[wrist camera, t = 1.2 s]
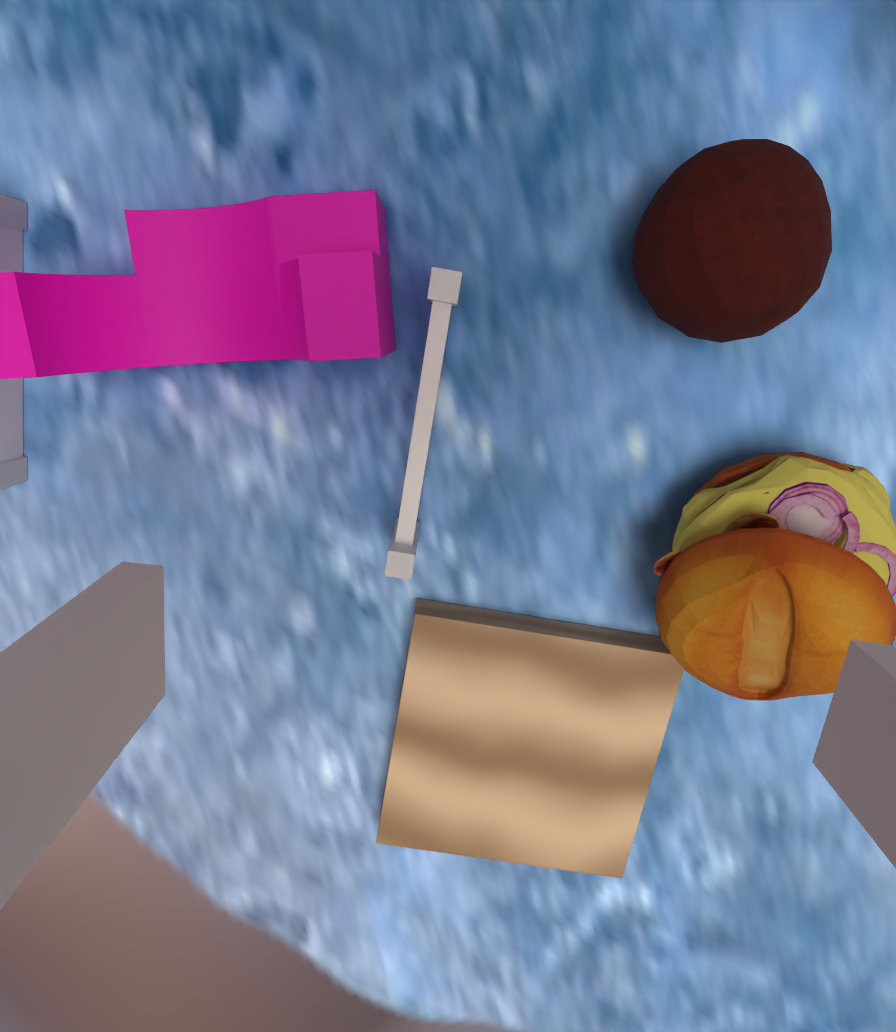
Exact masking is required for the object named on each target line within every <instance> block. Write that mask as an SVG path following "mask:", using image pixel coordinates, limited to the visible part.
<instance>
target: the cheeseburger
mask: <svg viewBox="0 0 896 1032" xmlns="http://www.w3.org/2000/svg"><path fill="white" fill-rule="evenodd" d="M654 573H655V574H656V575H658V576H662V578H661V580H660V582H659V586H658V591H657V596H656V601H655V614H656V621H657V625H658V629H659V632H660V636H661V640H662V641H663V643H664V644H665V646H666V647H667V649H668V650H669V652H670V653H671V655H672V656H673V657H674V658H675V659H676V660H677V662H678V663H679V664H680V665H681V666H682V667H683V669H684V670H685V671H687V672H688V673H690V674H691V675H692V676H694V677H695V678H697V679H698V680H700V681H702V682H703V683H705V684H707V685H709V686H710V687H712V688H714V689H717V690H719V691H721V692H724V693H726V694H728V695H731V696H734V697H737V698H741V699H745V700H777V699H782V698H788V697H795V696H806V695H817V694H828V693H833V692H835V689H836V685H837V682H838V679H839V676H840V673H841V670H842V666H843V663H844V660H845V657H846V654H847V651H848V647H849V644H850V641H851V640H855V641H864V642H873V643H883V644H890V645H892V644H893V641H894V639H895V636H896V605H895V602H894V600H893V598H892V597H893V596H894V594H895V593H896V528H895V525H894V521H893V518H892V515H891V511H890V499H889V497H888V495H887V492H886V490H885V488H884V486H883V485H882V484H881V483H880V482H879V480H878V479H877V478H876V477H875V476H874V475H873V474H872V473H871V472H869V471H868V470H867V469H865V468H864V467H858V466H852V465H849V464H840V463H838V462H835V461H832V460H828V459H825V458H821V457H817V456H814V455H810V454H807V453H803V452H795V453H781V454H766V455H759V456H756V457H754V458H751V459H748V460H745V461H743V462H740V463H737V464H734V465H732V466H729V467H726V468H723V469H722V470H720V471H719V472H718V473H717V474H716V475H715V476H714V477H712V478H711V479H710V480H709V481H708V482H707V483H706V484H704V485H703V486H702V487H701V488H700V489H699V490H698V491H696V492H695V493H694V494H693V496H692V498H691V500H690V501H689V502H688V503H687V504H686V505H685V506H684V507H683V510H682V515H681V518H680V521H679V524H678V526H677V529H676V532H675V535H674V540H673V545H672V552H670V553H668V554H667V555H665V556H663V557H662V558H660V559H659V560H658V561H657V562H656V563H655V566H654Z"/></svg>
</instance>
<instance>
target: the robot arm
mask: <svg viewBox="0 0 896 1032" xmlns="http://www.w3.org/2000/svg"><path fill="white" fill-rule="evenodd" d="M164 695H165V653H164V584H163V566H158V565H149V564H139V563H130V562H121V563H120V564H119V565H117V566H116V567H115V568H113V569H112V570H111V571H109V572H108V573H107V574H105V575H104V576H103V577H101V578H100V579H99V580H97V581H96V582H95V583H93V584H92V585H91V586H89V587H88V588H86V589H85V590H84V591H82V592H81V593H80V594H78V595H77V596H76V597H74V598H73V599H72V600H70V601H69V602H68V603H66V604H65V605H64V606H62V607H61V608H60V609H58V610H57V611H56V612H54V613H53V614H52V615H50V616H49V617H48V618H46V619H45V620H44V621H42V622H41V623H40V624H38V625H37V626H36V627H34V628H33V629H32V630H30V631H29V632H28V633H26V634H25V635H24V636H22V637H21V638H20V639H18V640H17V641H16V642H14V643H13V644H12V645H10V646H9V647H8V648H6V649H5V650H4V651H2V652H1V653H0V909H1V908H2V907H3V905H4V904H5V903H6V901H7V900H8V899H9V898H10V896H11V895H12V893H13V892H14V891H15V890H16V888H17V887H18V886H19V885H20V883H21V882H22V881H23V879H24V878H25V877H26V875H27V874H28V873H29V872H30V870H31V869H32V867H33V866H34V865H35V864H36V862H37V861H38V860H39V858H40V857H41V856H42V854H43V853H44V852H45V851H46V849H47V848H48V847H49V845H50V844H51V843H52V841H53V840H54V839H55V838H56V836H57V835H58V834H59V832H60V831H61V830H62V828H63V827H64V826H65V824H66V823H67V822H68V821H69V819H70V818H71V816H72V815H73V814H74V812H75V811H76V810H77V809H78V807H79V806H80V805H81V803H82V802H83V801H84V800H85V798H86V797H87V796H88V794H89V793H90V792H91V790H92V789H93V788H94V787H95V785H96V784H97V783H98V781H99V780H100V779H101V777H102V776H103V775H104V774H105V772H106V771H107V770H108V768H109V767H110V766H111V764H112V763H113V762H114V760H115V759H116V758H117V757H118V755H119V754H120V753H121V751H122V750H123V749H124V747H125V746H126V745H127V743H128V742H129V741H130V740H131V738H132V737H133V736H134V734H135V733H136V732H137V730H138V729H139V728H140V726H141V725H142V724H143V723H144V721H145V720H146V719H147V717H148V716H149V715H150V713H151V712H152V711H153V709H154V708H155V707H156V706H157V704H158V703H159V702H160V700H161V699H162V698H163V696H164ZM813 763H814V765H815V766H816V767H817V768H818V770H819V771H820V772H821V774H822V775H823V776H824V777H825V779H826V780H827V781H828V783H829V784H830V785H831V786H832V788H833V789H834V790H835V791H836V793H837V794H838V795H839V797H840V798H841V799H842V800H843V802H844V803H845V804H846V806H847V807H848V808H849V809H850V811H851V812H852V813H853V815H854V816H855V817H856V818H857V820H858V821H859V822H860V823H861V825H862V826H863V827H864V829H865V830H866V831H867V832H868V834H869V835H870V836H871V838H872V839H873V840H874V841H875V843H876V844H877V845H878V846H879V848H880V849H881V850H882V852H883V853H884V854H885V855H886V857H887V858H888V859H889V861H890V862H891V863H892V864H893V866H894V867H895V868H896V648H894V647H893V646H892V645H890V644H883V643H873V642H864V641H855V640H851V641H850V644H849V647H848V651H847V654H846V657H845V660H844V663H843V666H842V670H841V673H840V676H839V679H838V682H837V685H836V689H835V692H834V695H833V698H832V701H831V705H830V708H829V711H828V714H827V717H826V720H825V724H824V727H823V730H822V733H821V736H820V739H819V743H818V746H817V749H816V752H815V755H814V759H813Z"/></svg>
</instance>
